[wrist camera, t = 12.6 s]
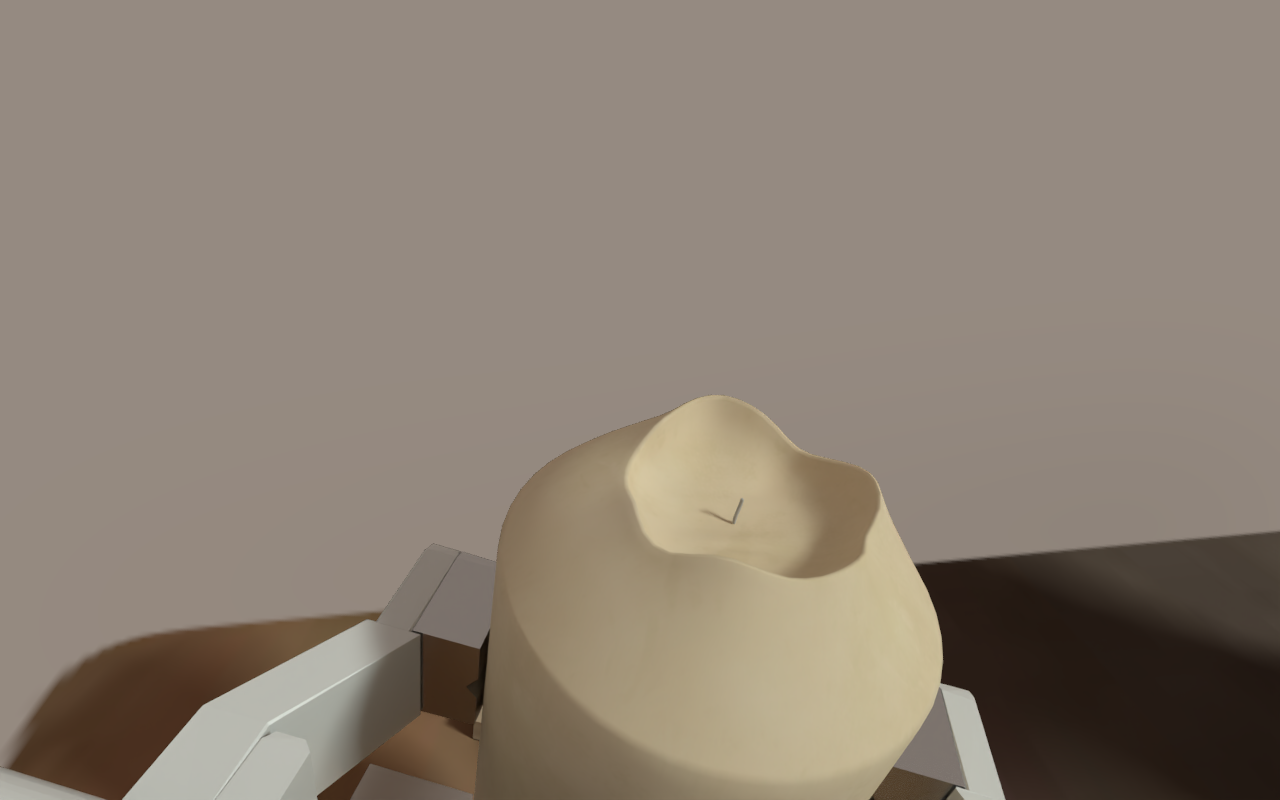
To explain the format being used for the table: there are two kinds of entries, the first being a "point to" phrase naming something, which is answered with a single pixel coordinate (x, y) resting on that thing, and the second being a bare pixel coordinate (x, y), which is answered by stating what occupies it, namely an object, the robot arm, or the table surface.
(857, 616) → the candle
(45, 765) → the table surface
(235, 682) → the table surface
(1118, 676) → the table surface
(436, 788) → the beige frame
